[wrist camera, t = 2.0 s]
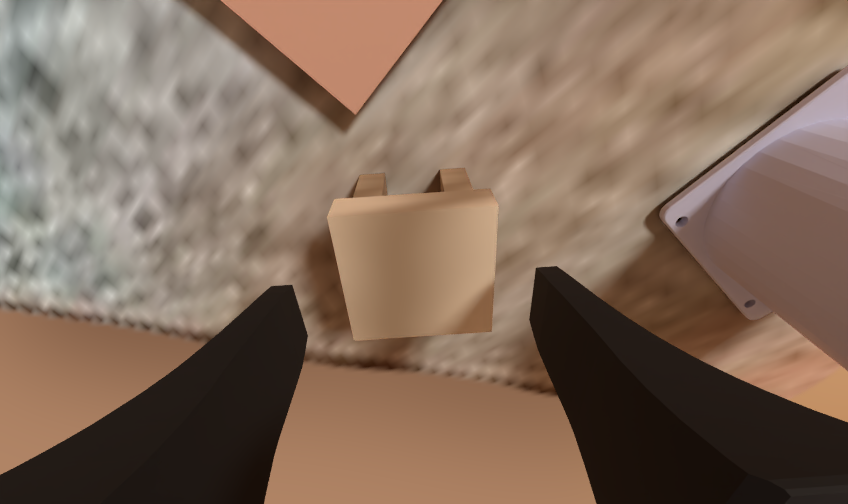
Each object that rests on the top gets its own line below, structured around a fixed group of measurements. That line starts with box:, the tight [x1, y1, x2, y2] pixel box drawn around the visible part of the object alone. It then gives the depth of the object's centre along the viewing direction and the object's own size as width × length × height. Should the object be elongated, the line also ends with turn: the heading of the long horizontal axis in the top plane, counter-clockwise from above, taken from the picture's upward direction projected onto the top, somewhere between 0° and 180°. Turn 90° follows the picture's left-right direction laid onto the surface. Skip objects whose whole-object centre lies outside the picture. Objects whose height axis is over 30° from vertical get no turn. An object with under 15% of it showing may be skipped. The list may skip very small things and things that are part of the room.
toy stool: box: [327, 168, 499, 341], centre depth 14 cm, size 5×5×4 cm
